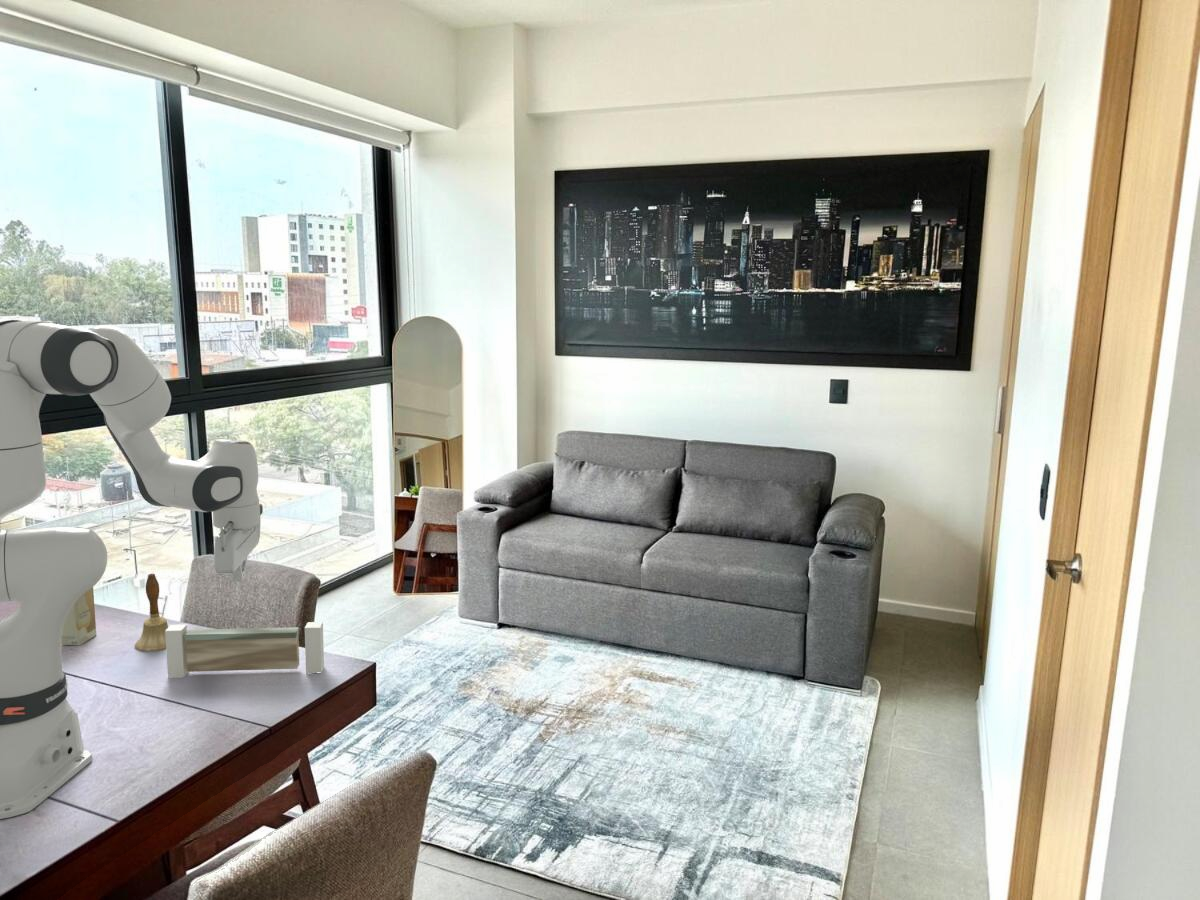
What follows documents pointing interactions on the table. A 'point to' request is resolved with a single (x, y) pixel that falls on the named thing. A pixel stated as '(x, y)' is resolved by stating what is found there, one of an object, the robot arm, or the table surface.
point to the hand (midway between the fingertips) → (239, 579)
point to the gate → (242, 649)
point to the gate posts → (179, 660)
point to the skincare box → (80, 621)
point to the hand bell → (153, 621)
